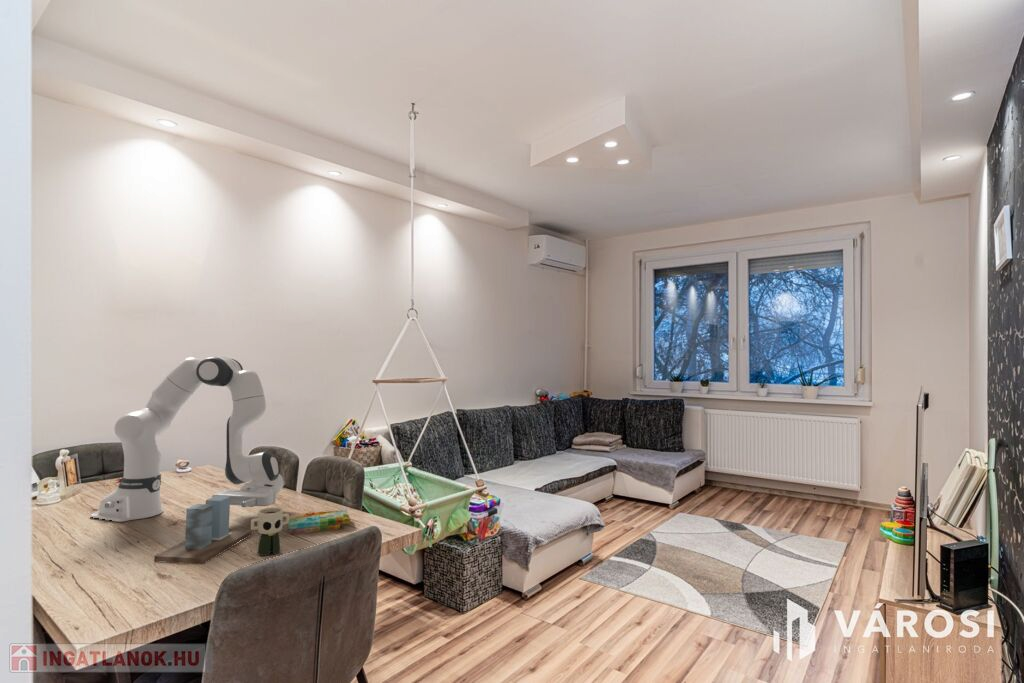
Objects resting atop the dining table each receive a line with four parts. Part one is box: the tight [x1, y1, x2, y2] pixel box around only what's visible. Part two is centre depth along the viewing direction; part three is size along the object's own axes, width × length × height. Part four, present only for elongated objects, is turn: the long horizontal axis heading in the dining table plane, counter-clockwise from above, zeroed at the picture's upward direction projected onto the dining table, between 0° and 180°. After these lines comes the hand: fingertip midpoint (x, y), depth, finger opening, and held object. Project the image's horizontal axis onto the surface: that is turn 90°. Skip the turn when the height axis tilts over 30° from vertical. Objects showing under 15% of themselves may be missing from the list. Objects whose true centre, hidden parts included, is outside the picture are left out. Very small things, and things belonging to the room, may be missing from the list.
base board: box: [153, 503, 252, 564], centre depth 161 cm, size 15×24×14 cm, turn 177°
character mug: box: [250, 506, 290, 556], centre depth 158 cm, size 11×7×13 cm, turn 128°
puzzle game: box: [288, 509, 351, 535], centre depth 182 cm, size 12×5×20 cm
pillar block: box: [205, 496, 231, 539], centre depth 167 cm, size 5×5×12 cm
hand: (230, 504), depth 174 cm, fingers open, 8 cm apart
